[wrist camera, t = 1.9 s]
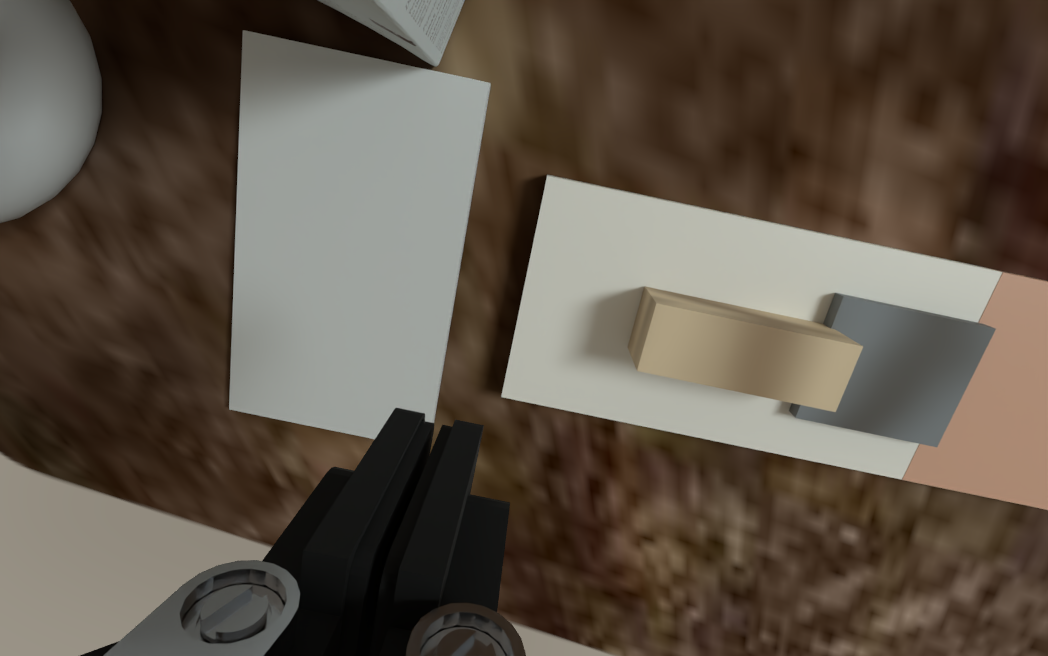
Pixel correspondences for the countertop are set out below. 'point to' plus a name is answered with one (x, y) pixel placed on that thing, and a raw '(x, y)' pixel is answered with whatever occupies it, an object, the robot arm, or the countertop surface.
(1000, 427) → the board
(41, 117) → the donut
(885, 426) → the turner
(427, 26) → the skincare box
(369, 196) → the mat
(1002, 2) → the countertop surface
